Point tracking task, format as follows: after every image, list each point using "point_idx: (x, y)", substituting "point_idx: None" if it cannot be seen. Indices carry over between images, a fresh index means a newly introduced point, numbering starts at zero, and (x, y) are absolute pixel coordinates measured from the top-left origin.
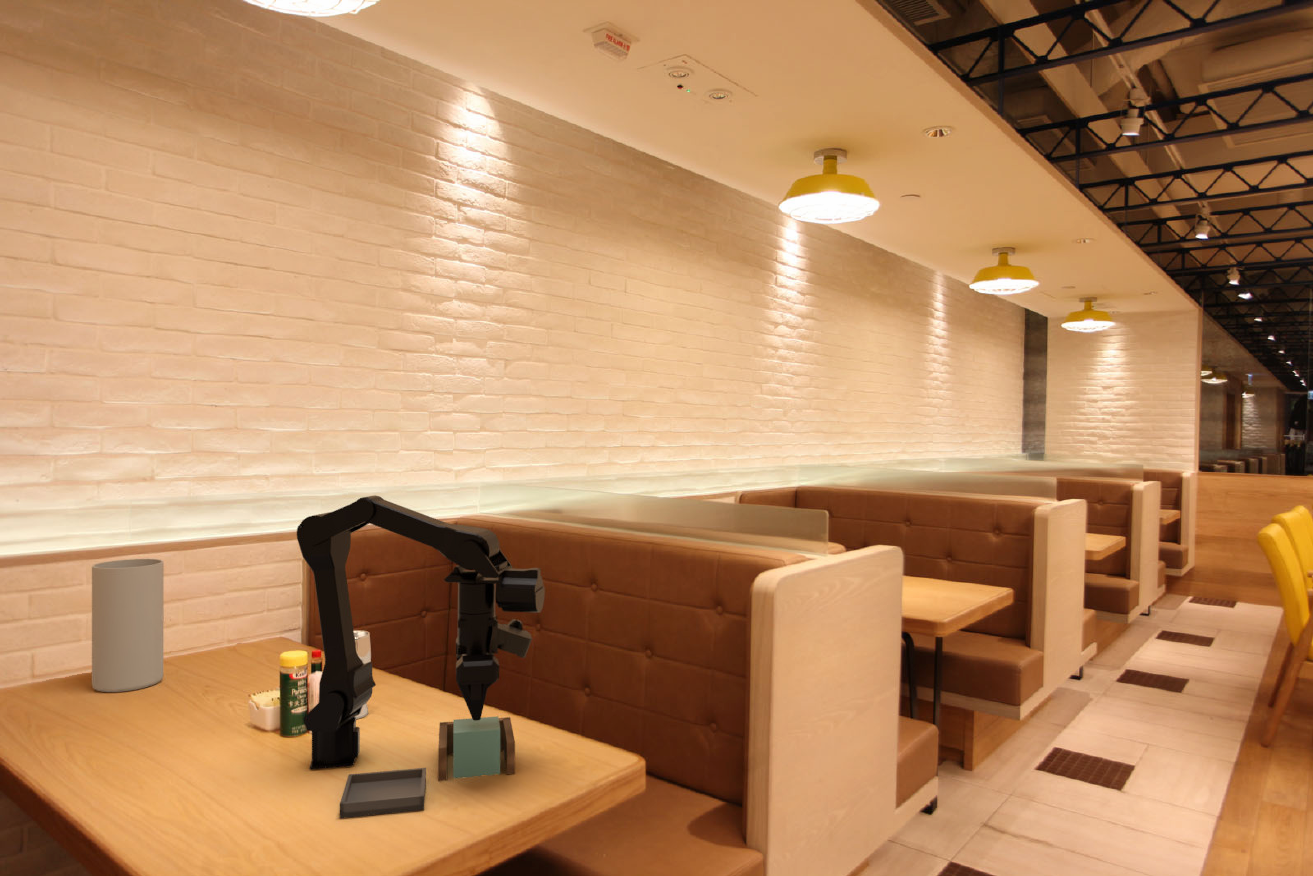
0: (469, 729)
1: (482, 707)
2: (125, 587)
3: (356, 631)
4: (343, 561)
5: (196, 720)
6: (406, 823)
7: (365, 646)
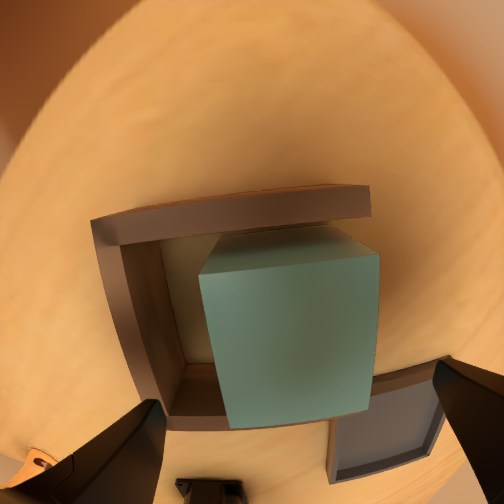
0: (348, 373)
1: (495, 375)
2: None
3: None
4: None
5: None
6: (472, 364)
7: None
